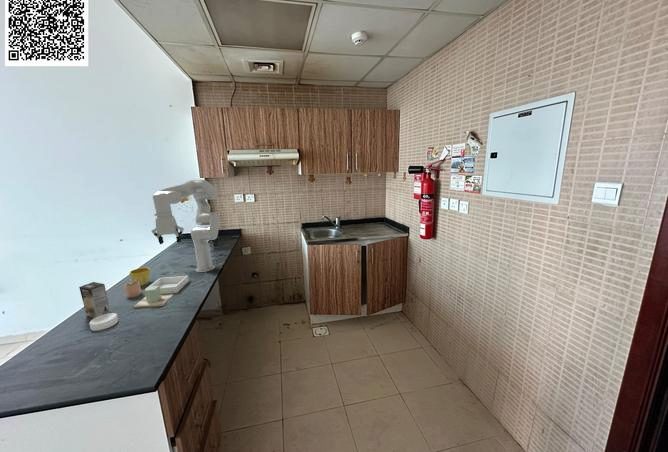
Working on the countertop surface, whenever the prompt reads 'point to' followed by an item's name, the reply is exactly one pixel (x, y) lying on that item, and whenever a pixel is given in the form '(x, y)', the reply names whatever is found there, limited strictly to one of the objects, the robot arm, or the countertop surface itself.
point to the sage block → (153, 294)
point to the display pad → (160, 302)
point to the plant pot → (140, 275)
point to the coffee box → (95, 299)
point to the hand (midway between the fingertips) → (170, 242)
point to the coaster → (103, 321)
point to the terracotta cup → (133, 289)
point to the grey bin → (170, 284)
